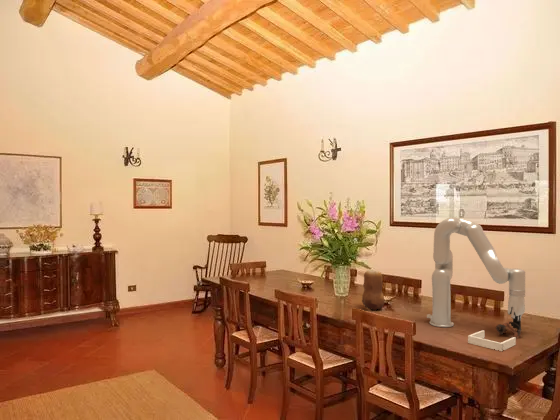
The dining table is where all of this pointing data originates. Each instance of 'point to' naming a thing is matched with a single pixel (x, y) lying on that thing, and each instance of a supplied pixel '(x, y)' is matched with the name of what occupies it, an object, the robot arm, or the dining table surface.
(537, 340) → the dining table surface
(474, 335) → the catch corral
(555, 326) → the dining table surface
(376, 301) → the butternut squash
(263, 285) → the dining table surface
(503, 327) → the pottery mug
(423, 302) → the dining table surface
